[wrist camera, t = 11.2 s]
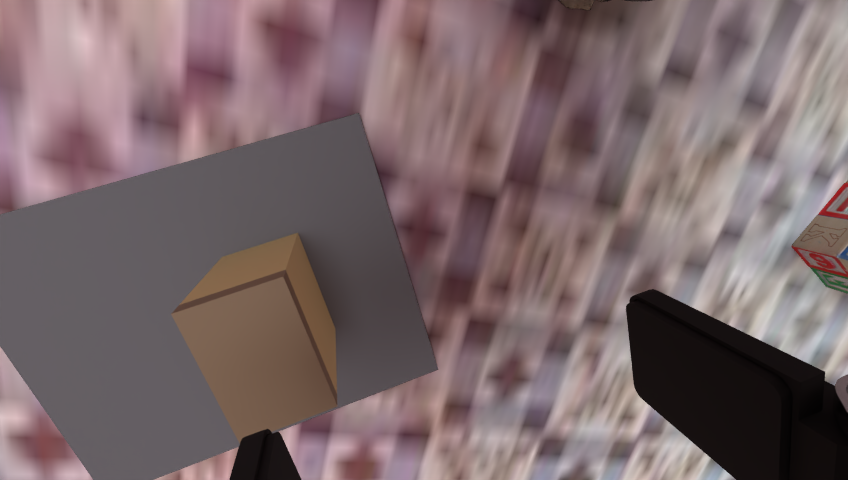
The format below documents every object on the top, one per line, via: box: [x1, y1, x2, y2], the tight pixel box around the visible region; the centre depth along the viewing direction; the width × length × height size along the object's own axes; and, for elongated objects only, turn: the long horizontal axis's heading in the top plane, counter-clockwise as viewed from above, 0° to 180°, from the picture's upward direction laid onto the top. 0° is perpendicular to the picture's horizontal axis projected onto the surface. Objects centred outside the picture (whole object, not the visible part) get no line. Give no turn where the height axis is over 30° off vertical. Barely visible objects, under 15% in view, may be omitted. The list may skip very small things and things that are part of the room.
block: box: [171, 233, 337, 443], centre depth 19 cm, size 4×6×7 cm, turn 16°
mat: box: [0, 113, 438, 480], centre depth 22 cm, size 20×16×1 cm
